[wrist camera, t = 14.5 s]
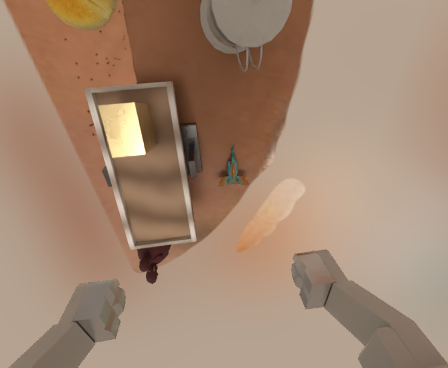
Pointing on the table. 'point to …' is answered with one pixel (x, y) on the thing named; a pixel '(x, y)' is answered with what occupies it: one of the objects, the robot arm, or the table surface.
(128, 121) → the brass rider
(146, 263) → the icecream
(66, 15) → the bread roll
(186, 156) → the pivot stand
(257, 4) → the french press
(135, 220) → the balance beam
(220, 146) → the table surface
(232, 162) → the dragon figurine
